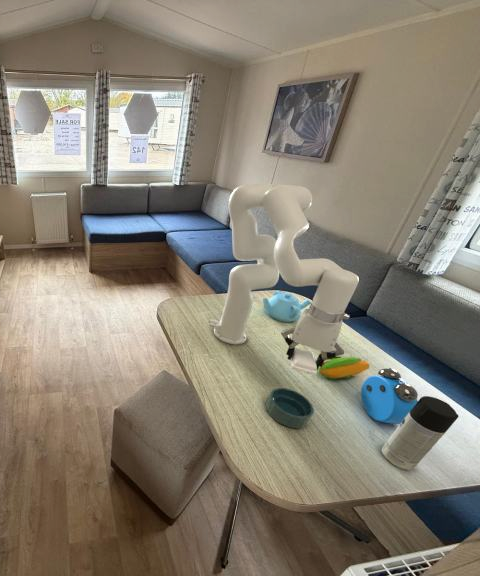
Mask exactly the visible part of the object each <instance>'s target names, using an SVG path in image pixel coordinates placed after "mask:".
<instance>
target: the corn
mask: <svg viewBox="0 0 480 576" xmlns="http://www.w3.org/2000/svg"><path fill="white" fill-rule="evenodd" d="M368 369H370V363H369V362H368V361H366V360H365V359H364V360H363V359H361V358H359V357H355V356H335V357H333V358H329V359H327V360H325V361H324V363H323V365H322V367H320V366H319V368H318V373H319V374H321V376H323V377H325V378H328V379H331V380H344V379H351V378H354V377H356V375H359V374H361V373H363V372H364V371H367V370H368Z"/></svg>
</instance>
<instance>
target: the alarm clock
mask: <svg viewBox="0 0 480 576" xmlns="http://www.w3.org/2000/svg"><path fill="white" fill-rule="evenodd" d="M360 391H361V392H360V395H361V396H360V397H361V402H362V405H363V408H364V410H365V412H366V413H367V414H368V416H370V418H372V419H373V420H375V421H377V422H380V423H387V424H391V426H394V425H400V424H401V422H402V421H403V420H404V418H405V417H406V416H407V415H408V413H409V412H410V410H411V409H412V408H413V407H414V406H415V404H416V403H417V402H418V401H419V400H418V397H419V395H418V391H417V389H415V387H414V386H412V385H411V384H409V383H408V382H407V381H405V380H404V379H402V375H401V374H400V373H399V372H398V371H397V370H395V369H392V368H391V367H389V368H381V369H379V371H377V374H375V375H370V376H369V377H367V378H366V379H365V380H364V381H363V383H362V386H361V389H360Z"/></svg>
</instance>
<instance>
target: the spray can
mask: <svg viewBox="0 0 480 576" xmlns="http://www.w3.org/2000/svg"><path fill="white" fill-rule="evenodd" d="M417 401H418V402H417V403H416V404H415V406H414V407H413V408H412V409H411V410H410V412H409V413H408V415H407V416H406V417H405V418H404V420H403V421H402V422H401V424H398V426H397V427H396V429H395V430H394V432H393V433H392V434H391V436H390V437H389V438H388V440H387V441H386V442H385V443H384V444H383V446H382V448H381V454H382V455H383V457H384V458H385V460H386V461H388V462H389V463H390V464H392V465H393V466H395V467H397V468H399V469H401V470H406V471H411V470H413V469H414V468H416V466H417V465H419V464H420V462H421V461H422V460H423V459H424V458H425V457H426V455H427V454H428V453H429V452H430V451H431V450H432V449H433V447H434V446H435V445H437V443H438V442H439V440H440V439H441V438H442V437H443V436H444V435H445V434H446V433H447V431H448V430H450V428H451V427H452V426H453V424H454V423H455V422H456V421H457V419H458V418H459V414H458V413H457V412H456V410H455V409H454V408H453V407H452V406H451V405H450V404H449V403H447V402H446V401H444V400H442V399H439V398H437V397H434V396H428V395H424V396H422V397H420V398H419V399H418V400H417Z"/></svg>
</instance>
